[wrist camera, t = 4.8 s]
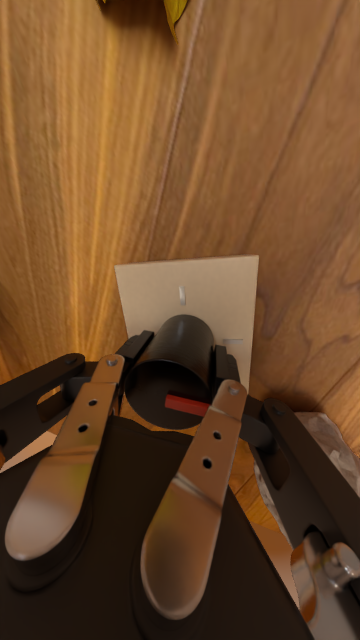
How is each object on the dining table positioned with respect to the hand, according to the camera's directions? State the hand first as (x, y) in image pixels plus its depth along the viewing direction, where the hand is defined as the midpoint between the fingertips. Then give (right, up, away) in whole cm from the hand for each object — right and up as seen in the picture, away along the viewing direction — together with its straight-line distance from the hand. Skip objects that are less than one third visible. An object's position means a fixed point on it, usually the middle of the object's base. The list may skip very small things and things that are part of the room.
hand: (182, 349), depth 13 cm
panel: (+1, +2, +4) cm, 4 cm away
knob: (0, +1, +1) cm, 1 cm away
